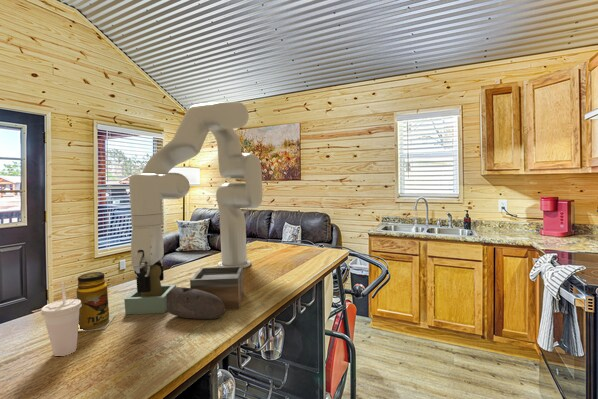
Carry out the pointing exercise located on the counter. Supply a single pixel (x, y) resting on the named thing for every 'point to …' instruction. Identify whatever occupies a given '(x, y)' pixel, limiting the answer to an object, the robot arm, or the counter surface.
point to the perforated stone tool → (194, 304)
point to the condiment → (93, 302)
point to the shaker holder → (147, 302)
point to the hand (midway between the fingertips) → (151, 285)
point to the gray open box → (221, 284)
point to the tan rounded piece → (154, 282)
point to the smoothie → (62, 324)
